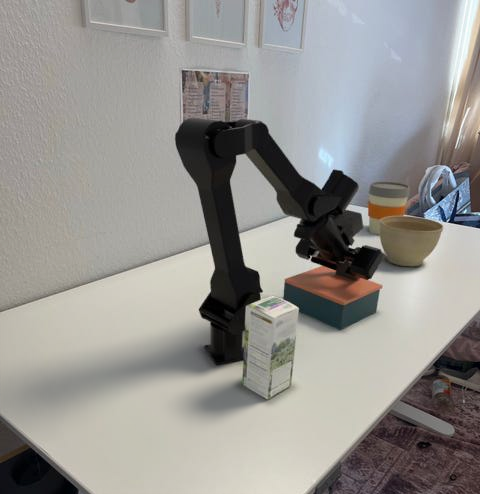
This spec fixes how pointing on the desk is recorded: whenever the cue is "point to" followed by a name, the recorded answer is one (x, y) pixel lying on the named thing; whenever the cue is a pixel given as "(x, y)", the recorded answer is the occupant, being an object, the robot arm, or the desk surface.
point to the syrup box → (269, 345)
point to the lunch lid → (334, 284)
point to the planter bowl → (409, 238)
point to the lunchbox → (331, 307)
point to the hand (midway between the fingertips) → (350, 273)
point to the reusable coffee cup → (386, 202)
